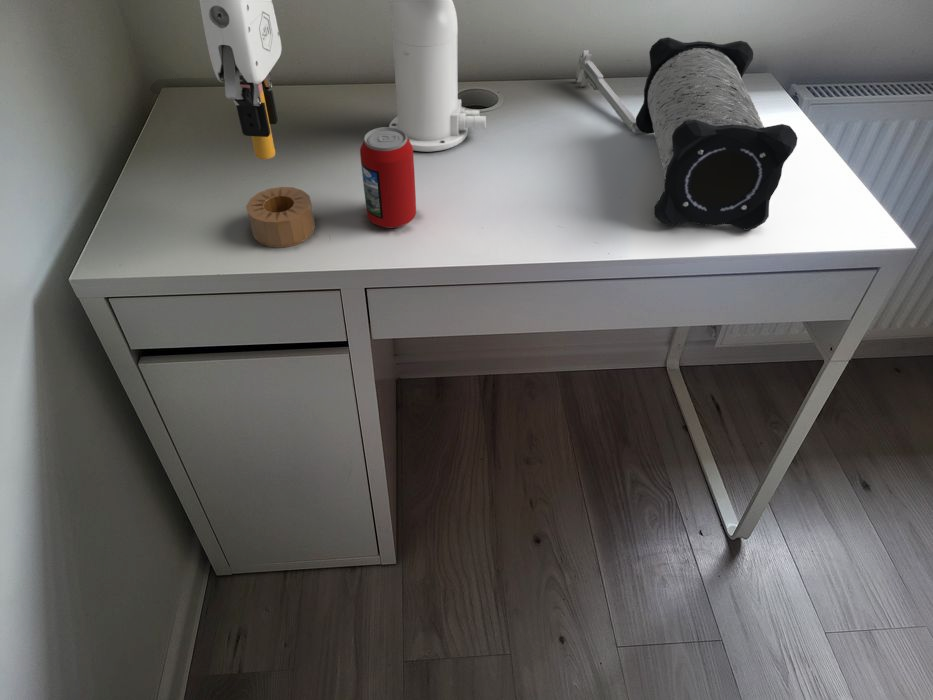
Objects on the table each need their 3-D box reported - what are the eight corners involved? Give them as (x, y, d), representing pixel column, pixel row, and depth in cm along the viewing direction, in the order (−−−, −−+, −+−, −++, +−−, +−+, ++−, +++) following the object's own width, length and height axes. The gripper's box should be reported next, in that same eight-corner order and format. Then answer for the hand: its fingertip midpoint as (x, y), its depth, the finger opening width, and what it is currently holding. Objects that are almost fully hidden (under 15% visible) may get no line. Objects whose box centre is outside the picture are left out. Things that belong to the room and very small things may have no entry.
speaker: (725, 131, 114) (754, 37, 104) (765, 237, 94) (806, 134, 84) (632, 126, 115) (651, 32, 104) (652, 231, 95) (678, 127, 84)
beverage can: (367, 205, 99) (358, 125, 91) (415, 203, 100) (411, 123, 91) (367, 233, 95) (357, 151, 86) (417, 231, 95) (413, 149, 87)
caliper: (574, 82, 127) (578, 47, 123) (580, 81, 128) (584, 46, 123) (635, 134, 114) (642, 97, 110) (641, 133, 114) (648, 96, 110)
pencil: (277, 150, 88) (264, 79, 82) (272, 160, 86) (257, 88, 80) (258, 149, 88) (243, 78, 82) (253, 159, 86) (237, 87, 80)
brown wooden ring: (321, 213, 98) (317, 188, 95) (306, 249, 92) (301, 223, 89) (263, 210, 98) (257, 185, 96) (245, 245, 93) (238, 220, 90)
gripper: (236, -13, 66) (272, 165, 79) (283, -62, 77) (308, 100, 90) (158, -16, 66) (207, 161, 79) (216, -64, 78) (250, 97, 91)
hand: (260, 127), depth 85 cm, fingers closed on pencil, 2 cm apart
